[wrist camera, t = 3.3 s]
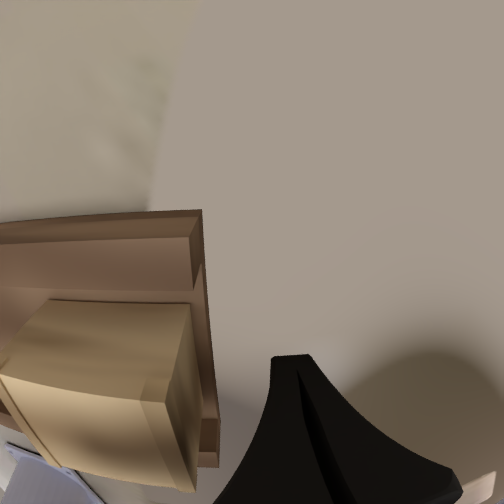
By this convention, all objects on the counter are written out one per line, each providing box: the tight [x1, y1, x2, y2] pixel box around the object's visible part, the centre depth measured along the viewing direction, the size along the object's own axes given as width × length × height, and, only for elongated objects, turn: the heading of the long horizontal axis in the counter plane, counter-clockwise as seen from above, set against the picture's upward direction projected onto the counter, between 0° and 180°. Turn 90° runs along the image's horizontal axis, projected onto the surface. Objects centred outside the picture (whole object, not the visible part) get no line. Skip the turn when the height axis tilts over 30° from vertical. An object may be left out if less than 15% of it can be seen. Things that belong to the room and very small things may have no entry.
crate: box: [0, 300, 203, 493], centre depth 9 cm, size 5×6×5 cm
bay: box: [0, 209, 221, 468], centre depth 10 cm, size 11×16×4 cm
